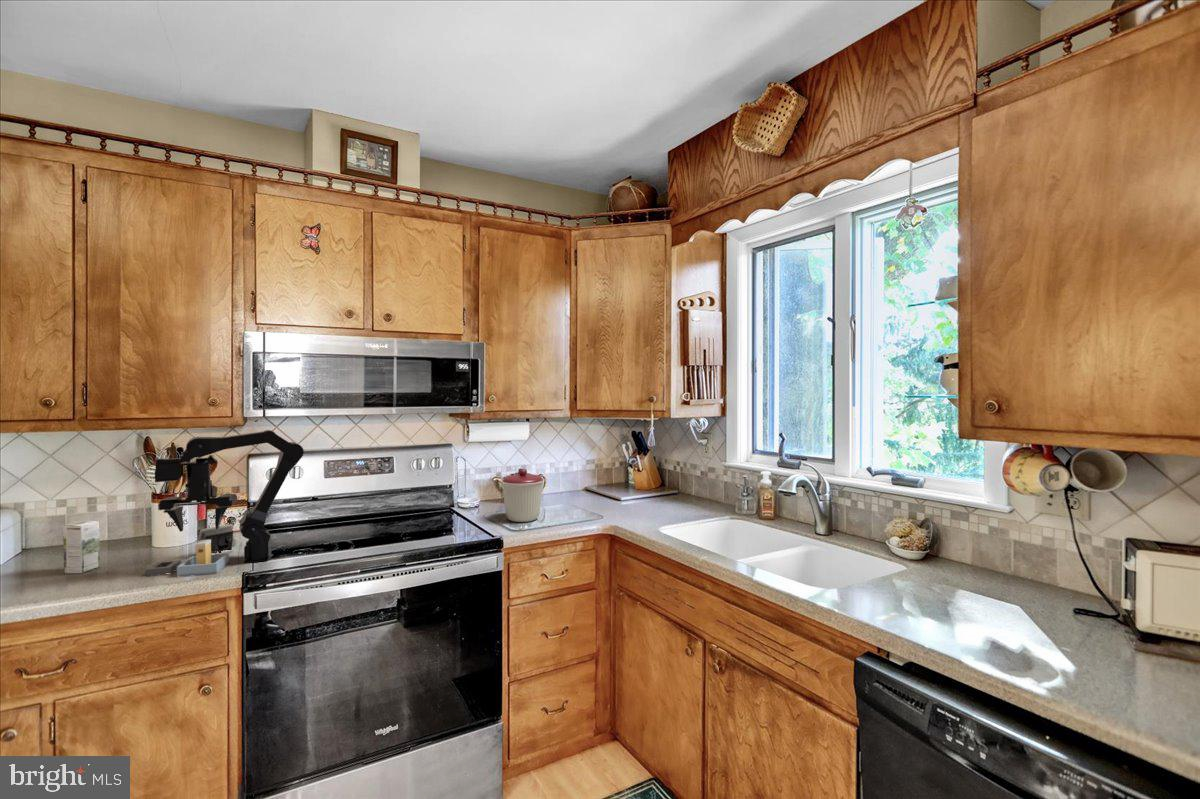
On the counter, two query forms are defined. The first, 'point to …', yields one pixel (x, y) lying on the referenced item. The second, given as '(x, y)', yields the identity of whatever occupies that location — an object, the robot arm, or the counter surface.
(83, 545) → the syrup box
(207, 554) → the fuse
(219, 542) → the electrical switch
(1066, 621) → the counter surface
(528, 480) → the canister
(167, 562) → the block
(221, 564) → the parts tray
